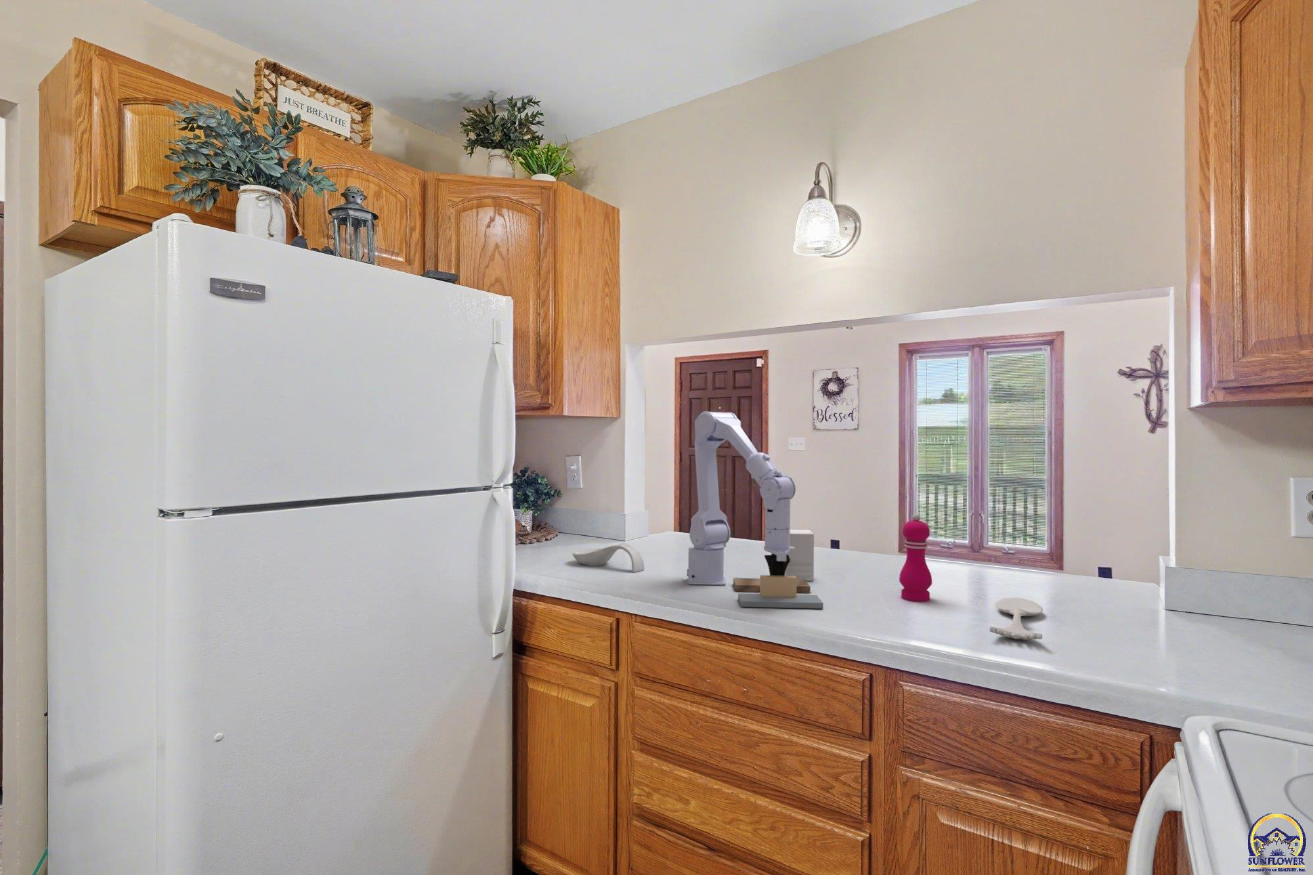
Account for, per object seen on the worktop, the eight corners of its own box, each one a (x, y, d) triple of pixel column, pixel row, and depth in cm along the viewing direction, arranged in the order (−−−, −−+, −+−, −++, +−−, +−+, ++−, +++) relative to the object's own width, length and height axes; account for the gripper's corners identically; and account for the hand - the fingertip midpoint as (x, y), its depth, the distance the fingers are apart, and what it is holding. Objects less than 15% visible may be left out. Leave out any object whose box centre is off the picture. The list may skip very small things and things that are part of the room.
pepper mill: (897, 599, 153) (897, 514, 153) (901, 593, 159) (902, 511, 159) (930, 603, 149) (931, 516, 149) (933, 597, 156) (934, 513, 156)
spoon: (987, 644, 121) (987, 625, 121) (996, 606, 149) (996, 591, 149) (1043, 652, 117) (1044, 633, 117) (1042, 611, 145) (1042, 596, 145)
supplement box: (810, 575, 178) (810, 529, 178) (813, 581, 171) (814, 533, 171) (782, 574, 179) (783, 528, 179) (785, 580, 172) (785, 532, 172)
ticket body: (735, 591, 159) (735, 584, 159) (733, 584, 167) (733, 577, 167) (810, 593, 158) (810, 586, 158) (804, 585, 166) (804, 578, 166)
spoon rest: (564, 564, 191) (564, 540, 191) (591, 559, 201) (591, 535, 200) (626, 576, 177) (627, 549, 177) (653, 569, 186) (653, 544, 186)
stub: (740, 606, 144) (741, 581, 144) (738, 598, 152) (738, 574, 152) (823, 608, 144) (823, 582, 144) (816, 600, 151) (816, 575, 151)
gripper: (800, 533, 145) (799, 594, 145) (789, 524, 159) (789, 579, 159) (768, 532, 145) (767, 593, 145) (760, 523, 160) (760, 579, 160)
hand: (776, 586), depth 152 cm, fingers closed
